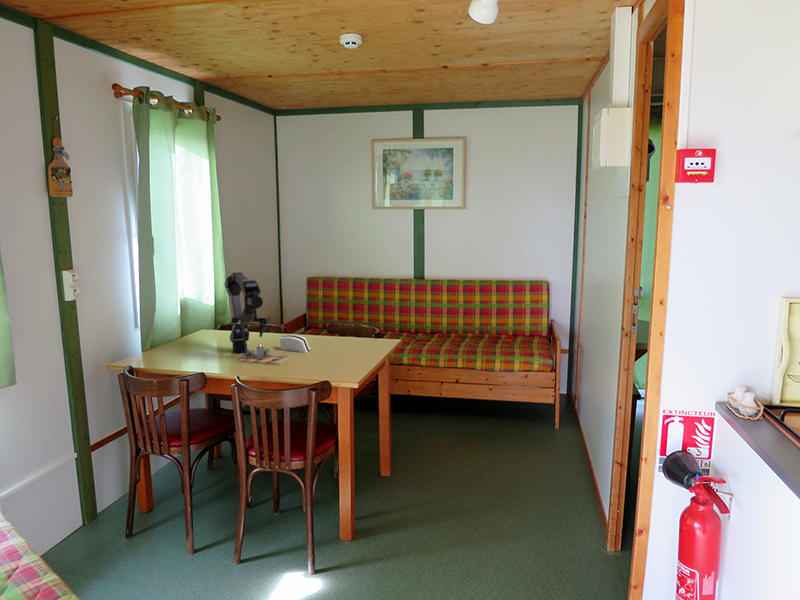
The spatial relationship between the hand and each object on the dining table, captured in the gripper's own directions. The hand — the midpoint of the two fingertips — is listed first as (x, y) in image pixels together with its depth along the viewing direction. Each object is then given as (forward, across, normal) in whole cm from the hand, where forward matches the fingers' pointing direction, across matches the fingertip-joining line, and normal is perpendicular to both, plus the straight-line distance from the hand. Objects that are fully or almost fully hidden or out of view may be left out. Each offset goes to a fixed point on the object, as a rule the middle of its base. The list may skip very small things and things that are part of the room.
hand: (252, 336), depth 279 cm
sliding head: (+11, +4, +2) cm, 12 cm away
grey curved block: (+12, +12, +24) cm, 30 cm away
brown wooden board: (+12, +5, +2) cm, 14 cm away
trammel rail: (+11, +5, +2) cm, 12 cm away
